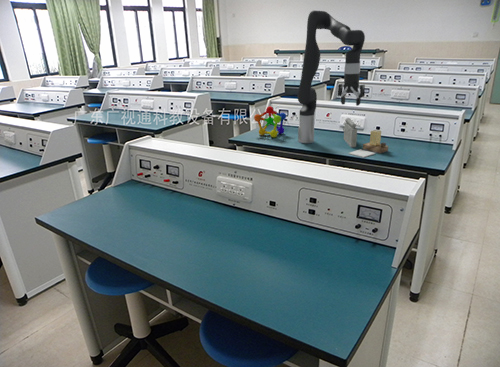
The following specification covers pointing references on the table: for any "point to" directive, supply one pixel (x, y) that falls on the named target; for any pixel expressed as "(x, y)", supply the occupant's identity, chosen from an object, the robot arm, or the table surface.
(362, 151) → the mat
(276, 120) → the molecular model
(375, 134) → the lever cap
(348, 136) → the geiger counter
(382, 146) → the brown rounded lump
